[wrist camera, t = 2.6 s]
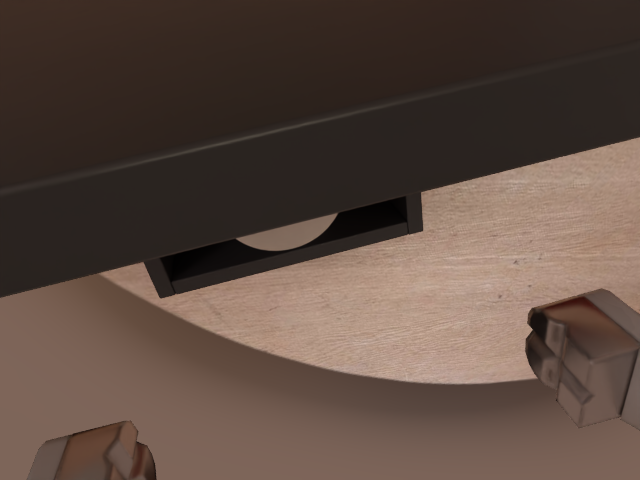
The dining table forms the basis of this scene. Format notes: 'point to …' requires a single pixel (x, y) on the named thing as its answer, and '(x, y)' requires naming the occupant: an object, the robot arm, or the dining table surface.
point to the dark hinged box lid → (280, 113)
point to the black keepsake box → (245, 260)
